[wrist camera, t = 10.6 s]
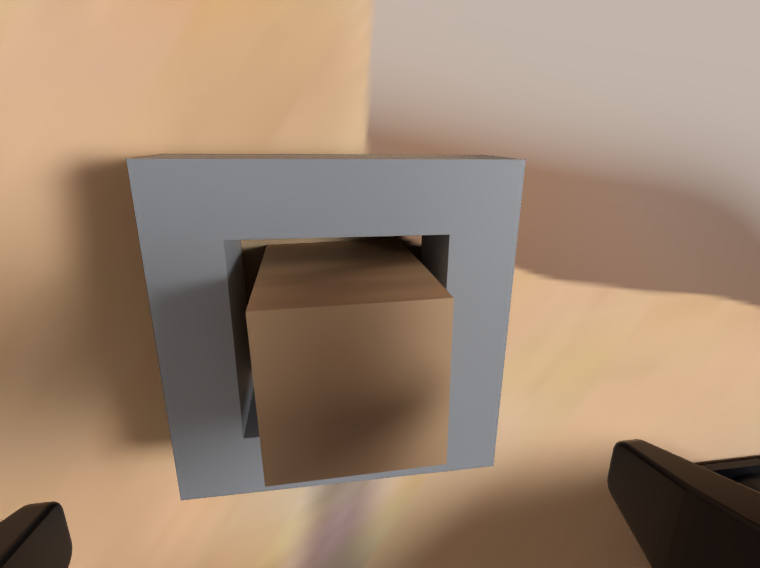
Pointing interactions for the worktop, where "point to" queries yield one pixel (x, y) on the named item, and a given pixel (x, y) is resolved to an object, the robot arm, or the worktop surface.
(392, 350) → the peg
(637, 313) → the worktop surface
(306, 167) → the socket block
